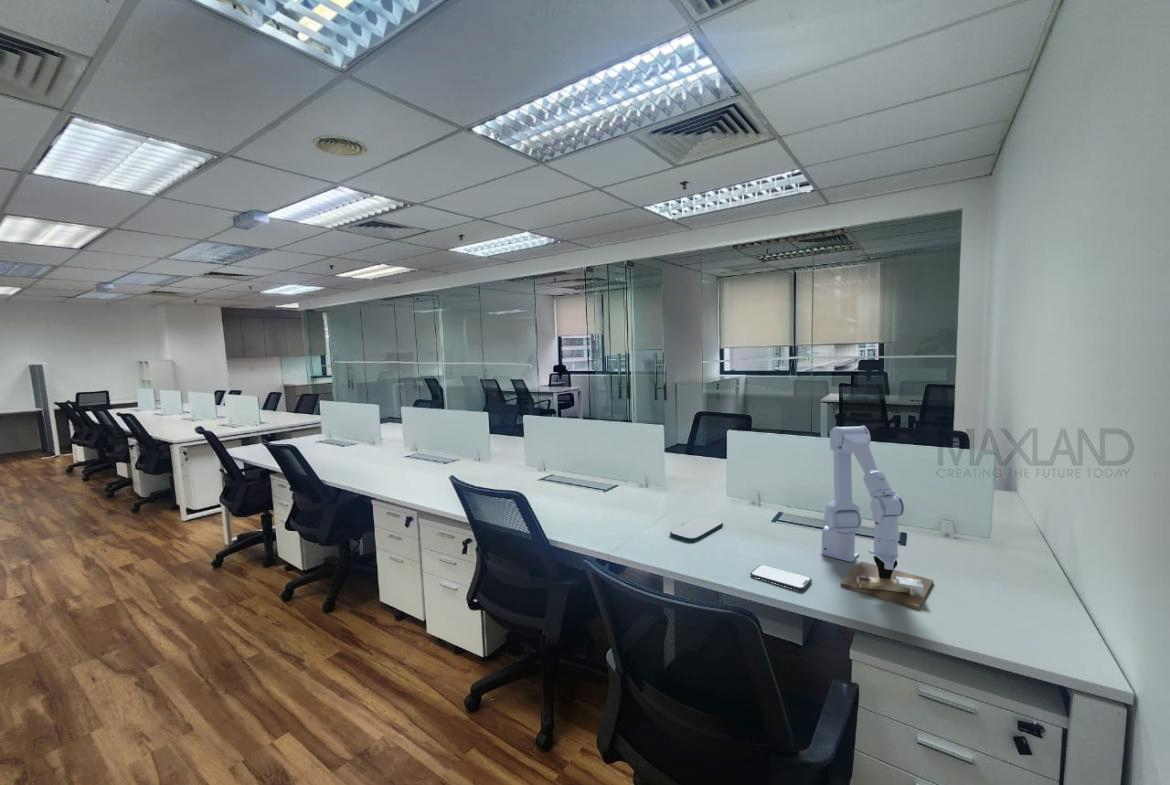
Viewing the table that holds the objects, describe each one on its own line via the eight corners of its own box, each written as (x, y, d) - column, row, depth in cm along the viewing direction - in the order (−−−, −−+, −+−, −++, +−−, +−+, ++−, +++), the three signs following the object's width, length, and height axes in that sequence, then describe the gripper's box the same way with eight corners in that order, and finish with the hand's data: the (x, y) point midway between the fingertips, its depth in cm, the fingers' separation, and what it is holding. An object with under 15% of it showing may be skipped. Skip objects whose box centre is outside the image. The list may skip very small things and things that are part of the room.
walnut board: (840, 586, 142) (840, 582, 141) (861, 564, 155) (861, 561, 155) (918, 609, 128) (918, 606, 128) (933, 583, 141) (933, 580, 141)
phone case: (748, 578, 149) (802, 594, 138) (748, 573, 149) (802, 589, 138) (760, 568, 156) (813, 582, 145) (760, 563, 156) (813, 577, 145)
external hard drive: (693, 545, 175) (693, 539, 175) (666, 537, 183) (666, 531, 183) (726, 526, 191) (726, 521, 191) (700, 519, 200) (700, 515, 199)
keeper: (897, 595, 134) (898, 583, 133) (895, 588, 138) (895, 576, 137) (923, 599, 131) (923, 587, 131) (920, 591, 135) (920, 579, 135)
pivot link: (858, 588, 138) (858, 579, 138) (855, 582, 141) (855, 573, 141) (910, 594, 134) (910, 584, 134) (906, 587, 137) (906, 578, 137)
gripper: (866, 526, 146) (865, 569, 147) (872, 545, 133) (871, 592, 134) (894, 529, 143) (893, 573, 144) (903, 548, 130) (901, 597, 131)
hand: (884, 582), depth 139 cm, fingers closed, pressing on pivot link
